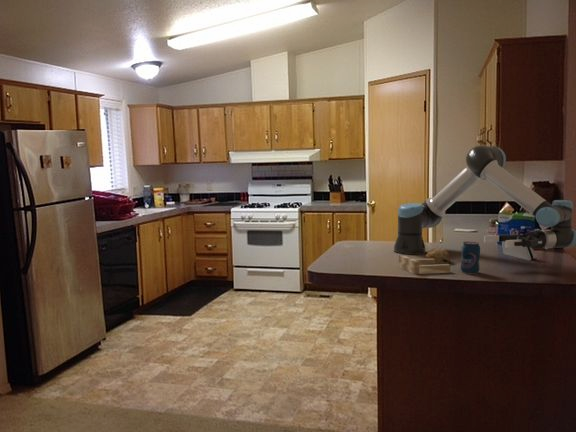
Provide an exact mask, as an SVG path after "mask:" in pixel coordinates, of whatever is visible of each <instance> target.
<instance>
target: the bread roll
mask: <svg viewBox="0 0 576 432" xmlns="http://www.w3.org/2000/svg"><path fill="white" fill-rule="evenodd" d="M425 257H426V259H431V258H433V259H435V265H438V264H449V263H451V255H450V253H449V252H448V251H447V250H446V249H444V248H440V247H435V248H433V249H431V250H430V251H428V252H427V253H426V255H425Z"/></svg>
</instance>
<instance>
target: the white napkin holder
mask: <svg viewBox="0 0 576 432" xmlns="http://www.w3.org/2000/svg"><path fill="white" fill-rule="evenodd" d="M501 246H502V252H503V255H507V256H509V257H514V258H518V259H523V260H526V261H531V260H536V261H538V260H539V259H538V256H537V255H536V254H535V251H534V249H532V248H531V247H529V248H528V247H527V246H526V247H522V246H521V247H508V248H506V247H505V242H504V241H501Z"/></svg>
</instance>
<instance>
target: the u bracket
mask: <svg viewBox="0 0 576 432" xmlns="http://www.w3.org/2000/svg"><path fill="white" fill-rule="evenodd" d="M398 268H400V269H402V270H403V271H407V272H409V273H411V274H413V275H426V274H444V273H447V274H449V273H451V264H449V263H445V264H436V263H435V259H433V258H431V259H427V258H411V257H410V256H406V255H405V254H401V255H400V254H399V255H398Z"/></svg>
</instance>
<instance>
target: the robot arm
mask: <svg viewBox="0 0 576 432" xmlns="http://www.w3.org/2000/svg"><path fill="white" fill-rule="evenodd" d="M506 161H507V157H506V154H505V152H504V150H503V149H502V148H500V147H497V146H495V145H477V146H473V147H472V148H470V150H469V151H467V153H466V156H465V163H466V167H465V168H464V169H463V170H461V171H460V172H459V173H458V174H457V175H456V176H455V177H454V178H453V179H452V180H451V181H449V183H448V184H446V185H445V186H444V187H443V188H442V189H441V190H440V191H438V193H437V194H436V195H435V196H434V197H428V198H427V199H426V200H424V201H423V202H422V203H417V202H410V203H403V204H401V205H399V206H398V212H397V237H396V240H395V242H394V245H393V252H394V251H395V253H397V252H398V253H397V254H402V253H405V254H404V255H422V253H423V254H425V253H426V245H425V241H424V239H423V229H430V228H435V227H436V226H438V225H439V224H440V223H441V222H442V220H443V218H444V217H445V215H446V211H447V209H449V208H450V207H451V206H452V205H454V203H456V202H457V201H458V200H459V199H460V198H461V197H462V196H463V195H465V194H466V193H467V192H468V191H469V190H471V188H473V187H474V186H475V185H476V184H477V183H478V182H479V181H480V180H483V181H485V180H487V181H488V182H490V183H491V184H492V185H493V186H495V187H496V188H497V189H498V190H500V192H502V193H503V194H505V195H506V196H508V197H509V198H510V199H511V200H513V202H515V203H517V204H518V205H519V206H521V207H522V208H523V209H524V210H526V211H527V212H528V213H529V214H531V215H532V216H533V217H535V220H536V222H537V223H538V224H539V225H540V226H542V227H546V228H547V227H550V228H551V229H537V230H535V229H534V230H530V231H529V232H528V233H527V234H499V233H498V234H497V233H496V234H494V235H493V234H492V235H483V236H484V237H483V243H497V244H499V242H502V241H504V242H505V247H506V248H508V247H521V246H522V247H526V246H527V247H528V248H529V247H531V248H532V249H533V250H535V249H537V250H540V249H545V250H548V249H552V248H553V249H554V248H556V249H557V248H565V249H566V248H571V247H574V246H576V230H575V229H574V228H573V211H574V204H573V201H572V200H567V199H566V200H565V199H564V200H563V199H555V200H553V201H552V203H550V202H548V201H547V200H546V199H545V198H543V197H542V196H540V195H539V194H538V193H537V192H535V191H534V190H533V189H531V188H530V187H528V186H527V185H526V184H525V183H524V182H522V181H520V180H519V179H518V178H516V177H515V176H514V175H513V174H511V173H510V172H508V171H507V170H506V169H504V167H505V165H506Z"/></svg>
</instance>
